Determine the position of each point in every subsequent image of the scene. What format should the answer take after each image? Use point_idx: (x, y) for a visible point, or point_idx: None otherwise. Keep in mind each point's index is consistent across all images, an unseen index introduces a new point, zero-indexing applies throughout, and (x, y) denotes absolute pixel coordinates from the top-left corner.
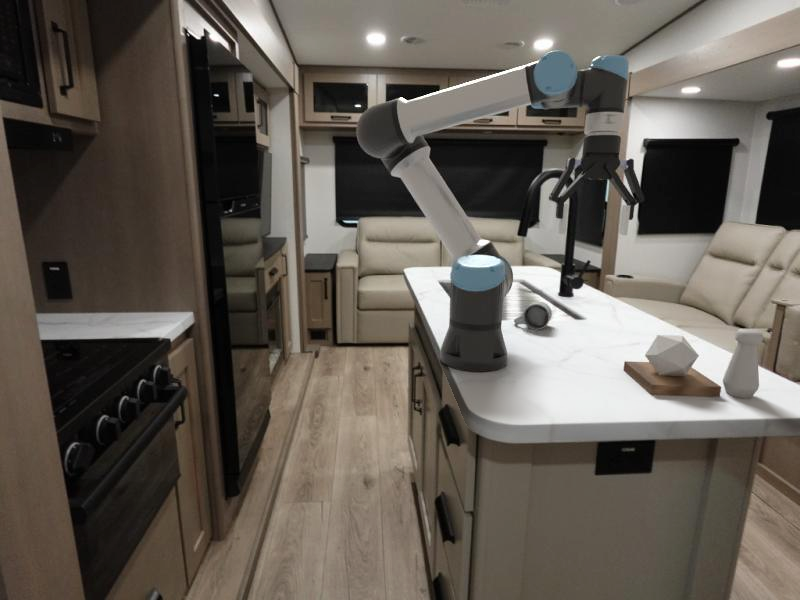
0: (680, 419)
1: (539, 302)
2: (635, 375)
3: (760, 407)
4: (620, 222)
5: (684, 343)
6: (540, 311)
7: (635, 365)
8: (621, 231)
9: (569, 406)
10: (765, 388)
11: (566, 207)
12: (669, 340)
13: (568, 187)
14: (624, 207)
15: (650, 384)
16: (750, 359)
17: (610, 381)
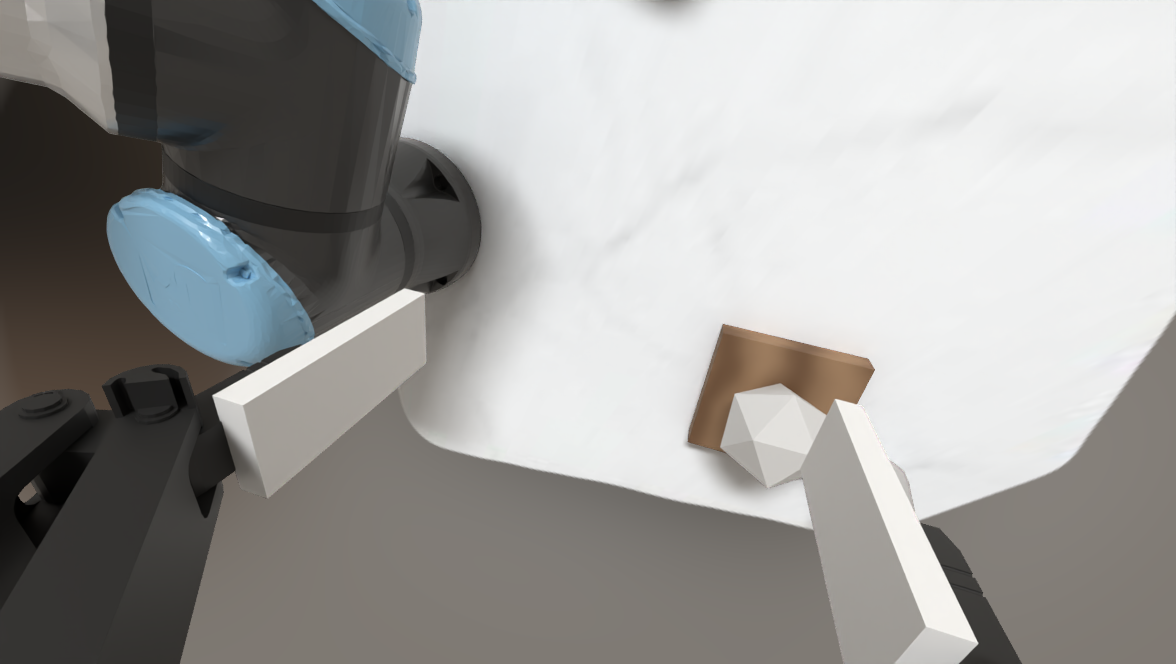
0: (669, 498)
1: None
2: (706, 380)
3: None
4: (855, 468)
5: (780, 483)
6: None
7: (730, 359)
8: (820, 451)
9: (531, 431)
10: (965, 463)
11: (282, 474)
12: (756, 466)
13: (27, 592)
14: (878, 645)
15: (689, 435)
16: None
17: (652, 369)
